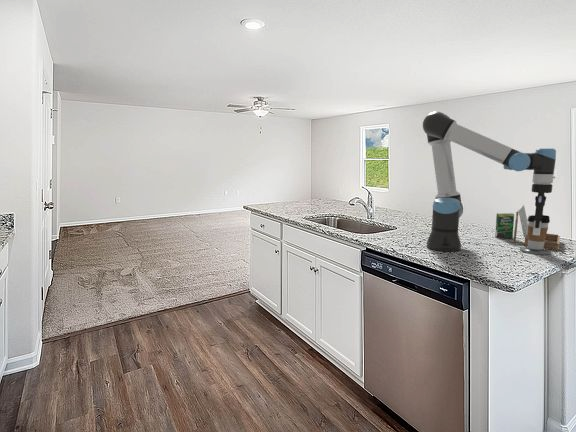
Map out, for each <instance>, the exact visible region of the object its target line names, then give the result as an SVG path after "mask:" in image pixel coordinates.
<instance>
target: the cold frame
mask: <svg viewBox="0 0 576 432" xmlns="http://www.w3.org/2000/svg"><path fill="white" fill-rule="evenodd" d="M517 210H518V211H516V212H515V219H514V222H515V223H514V229H513V242H512V243H513V244H516V242H517V241H516V240H517V234H518V233H517V231H518V223H519V222H518V221H519V220H520V225H521V229H522V234H523V238H524V245H523V247H528V221H527V220H528V216H527V213H526V208H525V204H521V206H519V208H518V209H517ZM560 237H561V236H560V235H558V234H554V233H547V234H546V239H545V243H544V247H543V249H546V250H552V249H553V250H554V251H559V250H560ZM555 241H556V242H555Z"/></svg>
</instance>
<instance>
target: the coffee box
mask: <svg viewBox="0 0 576 432" xmlns="http://www.w3.org/2000/svg"><path fill="white" fill-rule="evenodd" d="M514 222H515V213H513V212H509V213H496V219H495V233H494V235H495V238H497V239H499V238H500V239H502V238H504V239H514V227H515V223H514Z"/></svg>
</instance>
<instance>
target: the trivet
mask: <svg viewBox="0 0 576 432" xmlns="http://www.w3.org/2000/svg"><path fill="white" fill-rule="evenodd" d="M519 251H520V252H522V253H526V254H531V255H538V256H549V255H551V254H552V251H551V250H550V249H544V248H543V249H541V250H538V249H531V248H528V247H527V246H523V247H520V248H519Z"/></svg>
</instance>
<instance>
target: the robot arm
mask: <svg viewBox="0 0 576 432" xmlns="http://www.w3.org/2000/svg"><path fill="white" fill-rule="evenodd" d="M422 130H423V132H424V133H425V134H426V138H427V145H428V144H429V145H430V146H431V152H432V158H433V165H434V173H435V174H434V175H435V180H436V181H435V182H436V189H437V194H436V195H435V197H434V198H435V199H434V200H433V202H432V217H431V220H432V221H431V231H430V234H429V236H428V239H427V241H426V247H427V248H428V249H431V250H434V251H439V252H458V251H460V250H462V244H461V240H460V239H461V238H460V236H459V223H460V217H462V215H463V213H464V205H463V203H462V199H461V193H460V192H459V191H458V190H457V185H456V177H455V171H454V170H455V169H454V162H453V155H452V146H451V142H452V143H454V144H457V145H459V146H462V147H464V148H466V149H467V150H471V151H472V152H474V153H476V154H479V155H481V156H483V157H485V158H488V159H489V160H492V161H494V162H497V163H498V164H500V165H503V166H502V167H503V169H504V170H509V171H516V172H522V171H532V170H533V173H532V183H533V184H532V185H531V192H532V193H537V195H536V196H535V197H534V200H535V204H534V205H535V212H534V215H535V218H534V219H533V221H534V226H533V235H538V236H540V230H541V220H542V215H544V207H545V205H546V201H547V196H546V195H545V194H551V193H552V191H553V183H554V179H556V176H554V175H555V174H554V173H555V167H556V160H557V158H556V156H557V150H556V149H555V148H537V149H535V152H530V153H529V152H522V151H519V150H517V149H514V148H513V147H510V146H508V145H506V144H503V143H501V142H498V141H497V140H495V139H494V140H493V139H492V138H490V137H488V136H485V135H483V134H480V133H478V132H476V131H473V130H471V129H469V128H467V127H465V126H463V125H460V124H458V123H457V120H455V119H453V118H450V116H448V115H447V114H445V113H444V112H441V111H433V112H430V113H429V114H427V115H426V116H425V117H424V118H423V121H422Z"/></svg>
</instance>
